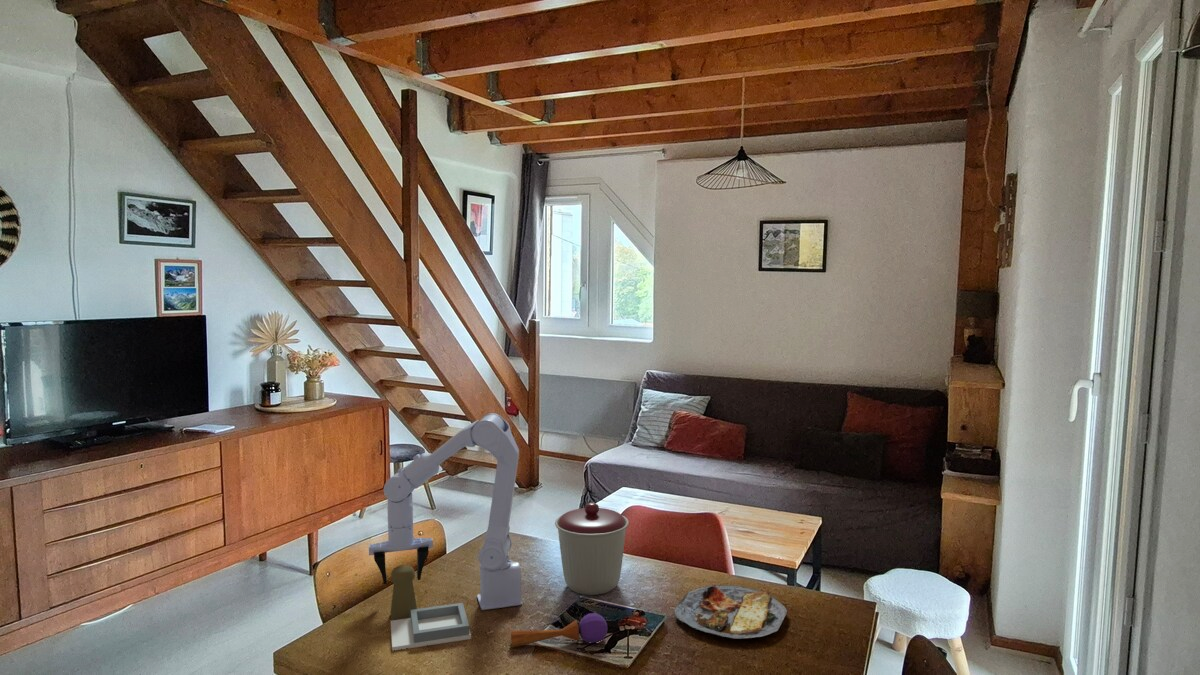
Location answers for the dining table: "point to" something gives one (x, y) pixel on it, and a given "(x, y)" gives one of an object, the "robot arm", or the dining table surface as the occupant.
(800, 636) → the dining table surface
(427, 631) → the socket board
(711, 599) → the food plate
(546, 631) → the kendama
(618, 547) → the canister
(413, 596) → the olive knobbed tapered peg
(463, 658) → the dining table surface
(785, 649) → the dining table surface
